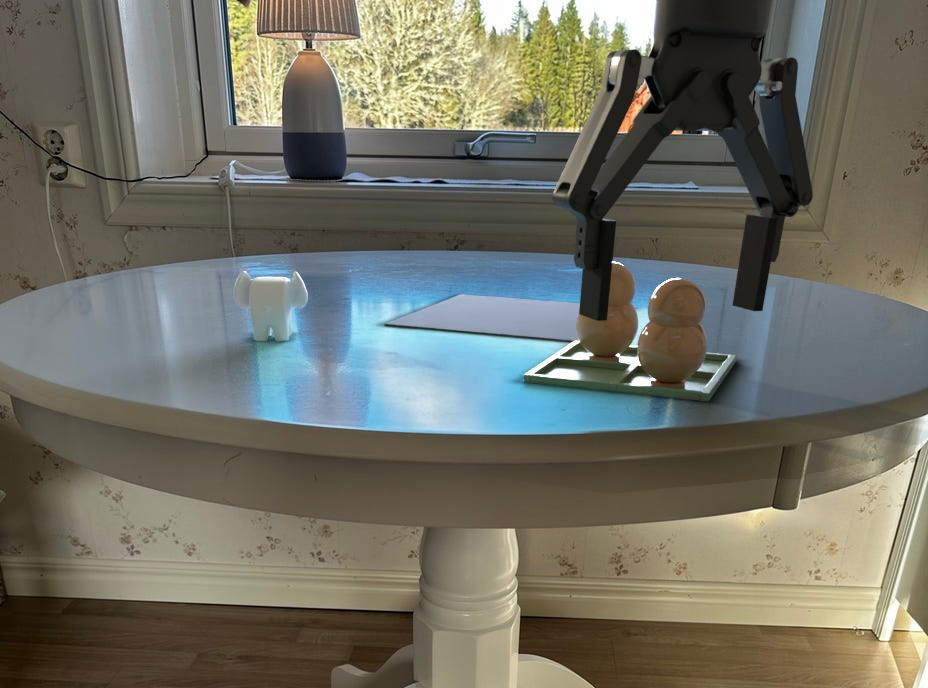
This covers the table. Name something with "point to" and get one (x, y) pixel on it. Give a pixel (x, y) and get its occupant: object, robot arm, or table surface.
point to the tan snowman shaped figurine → (673, 334)
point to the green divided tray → (626, 374)
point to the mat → (498, 317)
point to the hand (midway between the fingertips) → (672, 313)
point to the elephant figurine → (270, 303)
